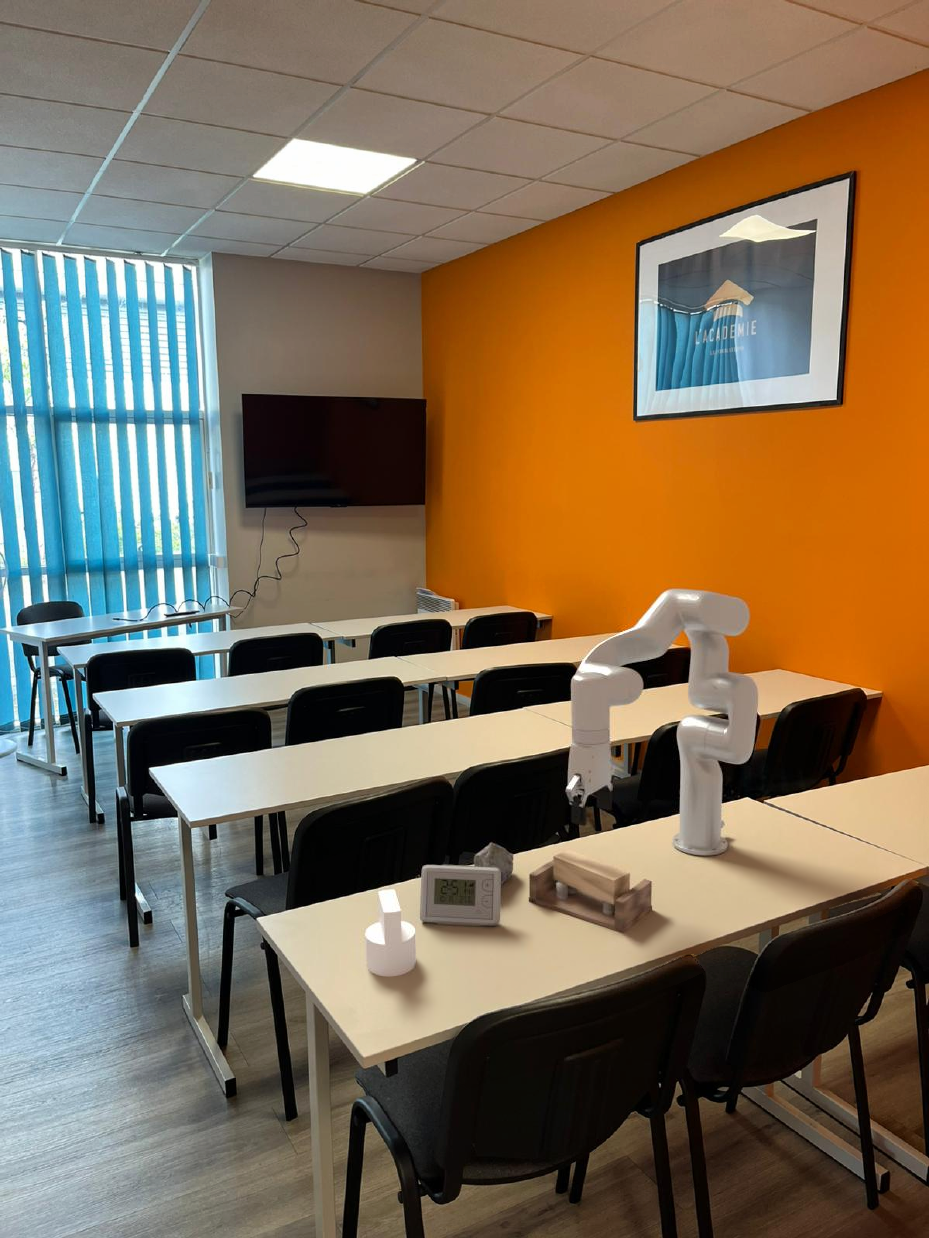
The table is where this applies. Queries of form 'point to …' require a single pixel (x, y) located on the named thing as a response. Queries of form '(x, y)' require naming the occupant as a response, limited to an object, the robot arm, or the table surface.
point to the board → (591, 876)
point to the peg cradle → (590, 901)
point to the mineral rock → (495, 860)
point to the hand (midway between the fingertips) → (591, 816)
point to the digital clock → (460, 895)
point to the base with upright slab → (390, 939)
